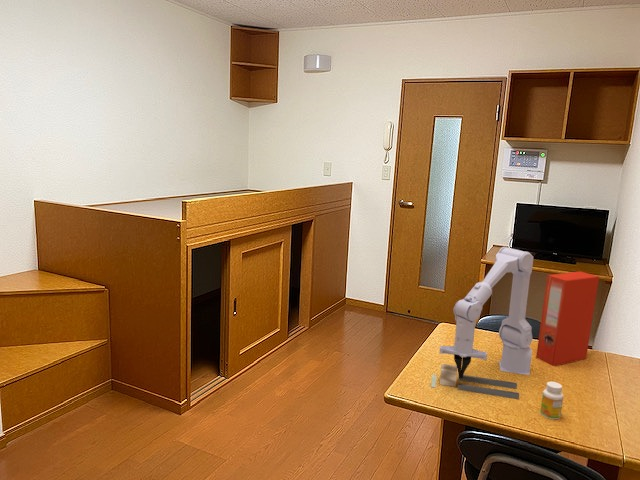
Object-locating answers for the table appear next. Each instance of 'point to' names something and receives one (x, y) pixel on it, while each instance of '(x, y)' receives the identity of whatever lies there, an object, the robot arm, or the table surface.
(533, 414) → the table surface
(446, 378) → the block
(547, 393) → the supplement bottle
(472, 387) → the parallel grey rails
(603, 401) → the table surface
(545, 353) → the file binder
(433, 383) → the pad
